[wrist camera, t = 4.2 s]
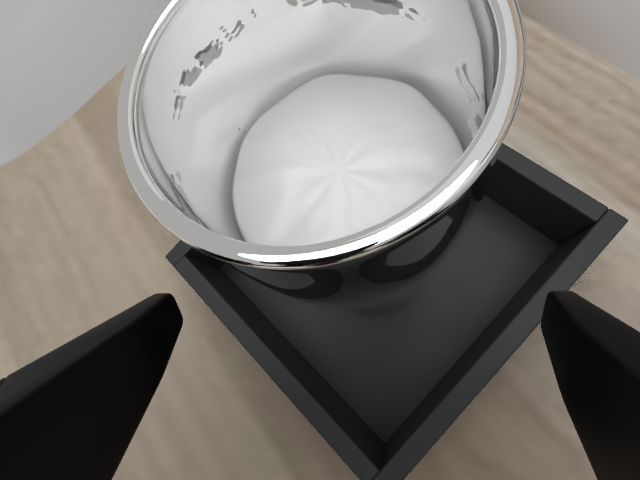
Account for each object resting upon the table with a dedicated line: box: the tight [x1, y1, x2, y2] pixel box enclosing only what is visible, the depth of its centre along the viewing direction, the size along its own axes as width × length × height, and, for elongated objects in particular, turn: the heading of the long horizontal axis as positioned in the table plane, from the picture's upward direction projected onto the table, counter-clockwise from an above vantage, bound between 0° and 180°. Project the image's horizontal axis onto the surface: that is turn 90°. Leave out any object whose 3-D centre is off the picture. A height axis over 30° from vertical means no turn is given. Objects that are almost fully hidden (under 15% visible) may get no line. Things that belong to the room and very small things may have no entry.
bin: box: [166, 143, 628, 480], centre depth 18 cm, size 15×15×4 cm
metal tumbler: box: [117, 0, 526, 314], centre depth 13 cm, size 7×7×15 cm
